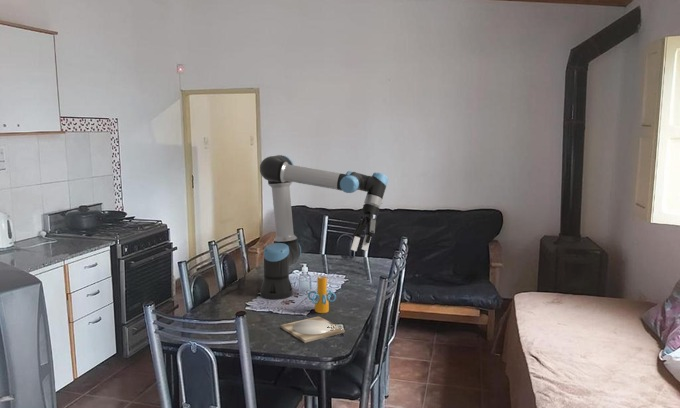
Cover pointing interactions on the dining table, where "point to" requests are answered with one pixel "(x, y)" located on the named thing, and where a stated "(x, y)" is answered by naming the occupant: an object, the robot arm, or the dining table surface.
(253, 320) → the dining table surface
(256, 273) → the dining table surface
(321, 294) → the orange post with rings
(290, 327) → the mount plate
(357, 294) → the dining table surface
